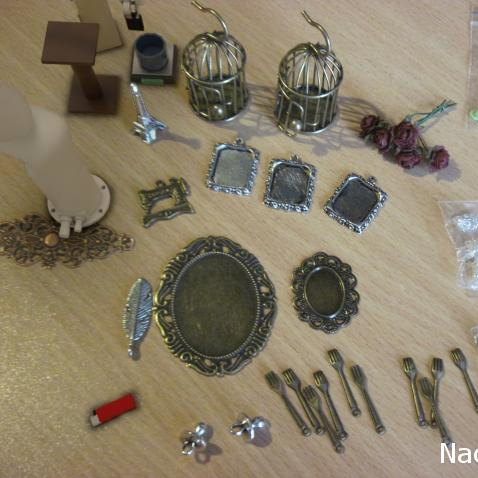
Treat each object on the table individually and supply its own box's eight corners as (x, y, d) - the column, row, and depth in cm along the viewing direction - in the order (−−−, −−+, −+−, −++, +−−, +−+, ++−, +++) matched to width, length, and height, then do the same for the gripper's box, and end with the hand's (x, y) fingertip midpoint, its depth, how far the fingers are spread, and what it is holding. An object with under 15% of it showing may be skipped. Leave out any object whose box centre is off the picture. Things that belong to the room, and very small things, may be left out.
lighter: (135, 406, 103) (92, 426, 101) (136, 407, 104) (94, 427, 102) (130, 392, 104) (87, 412, 102) (131, 393, 105) (89, 412, 103)
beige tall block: (82, 29, 134) (52, -44, 114) (112, 21, 136) (88, -52, 116) (92, 54, 132) (63, -16, 112) (122, 45, 133) (99, -24, 114)
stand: (114, 114, 126) (93, 62, 110) (69, 112, 125) (40, 60, 109) (119, 78, 130) (98, 23, 113) (74, 76, 129) (47, 20, 112)
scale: (174, 86, 131) (173, 79, 128) (131, 85, 130) (129, 78, 127) (177, 49, 135) (176, 42, 132) (135, 48, 134) (133, 40, 131)
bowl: (167, 71, 129) (164, 58, 125) (136, 69, 128) (132, 56, 124) (169, 47, 132) (166, 33, 127) (139, 45, 131) (135, 31, 127)
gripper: (138, -24, 97) (153, 45, 112) (146, -93, 103) (160, -19, 119) (93, -27, 96) (115, 43, 112) (104, -96, 102) (124, -21, 118)
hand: (138, 11), depth 115 cm, fingers open, 9 cm apart
